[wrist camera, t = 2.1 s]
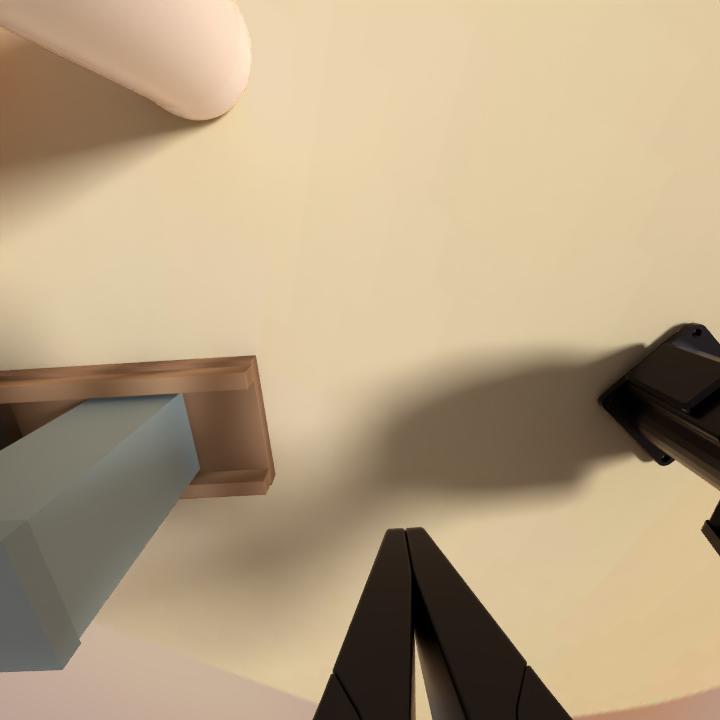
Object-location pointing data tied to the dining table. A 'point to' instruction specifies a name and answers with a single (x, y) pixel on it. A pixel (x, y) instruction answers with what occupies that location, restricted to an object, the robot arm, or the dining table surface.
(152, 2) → the drinking glass
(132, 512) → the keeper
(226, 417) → the track
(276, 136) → the dining table surface
